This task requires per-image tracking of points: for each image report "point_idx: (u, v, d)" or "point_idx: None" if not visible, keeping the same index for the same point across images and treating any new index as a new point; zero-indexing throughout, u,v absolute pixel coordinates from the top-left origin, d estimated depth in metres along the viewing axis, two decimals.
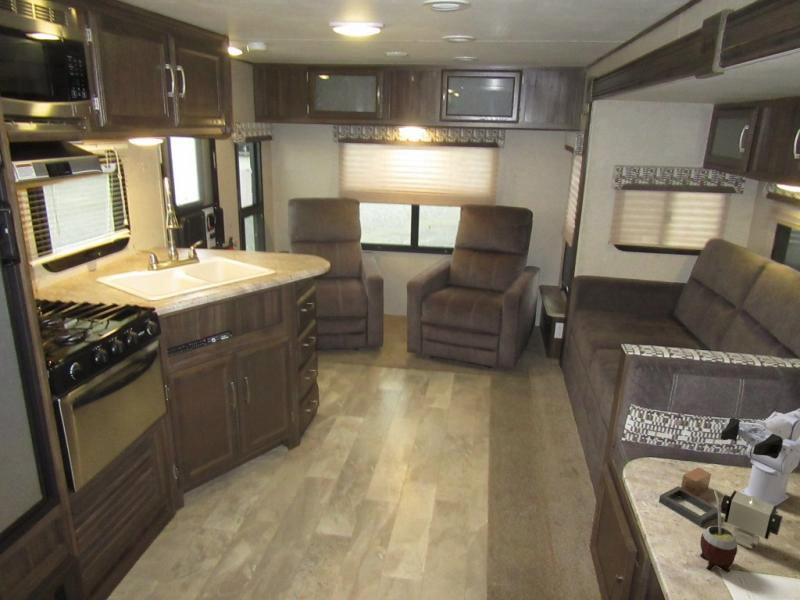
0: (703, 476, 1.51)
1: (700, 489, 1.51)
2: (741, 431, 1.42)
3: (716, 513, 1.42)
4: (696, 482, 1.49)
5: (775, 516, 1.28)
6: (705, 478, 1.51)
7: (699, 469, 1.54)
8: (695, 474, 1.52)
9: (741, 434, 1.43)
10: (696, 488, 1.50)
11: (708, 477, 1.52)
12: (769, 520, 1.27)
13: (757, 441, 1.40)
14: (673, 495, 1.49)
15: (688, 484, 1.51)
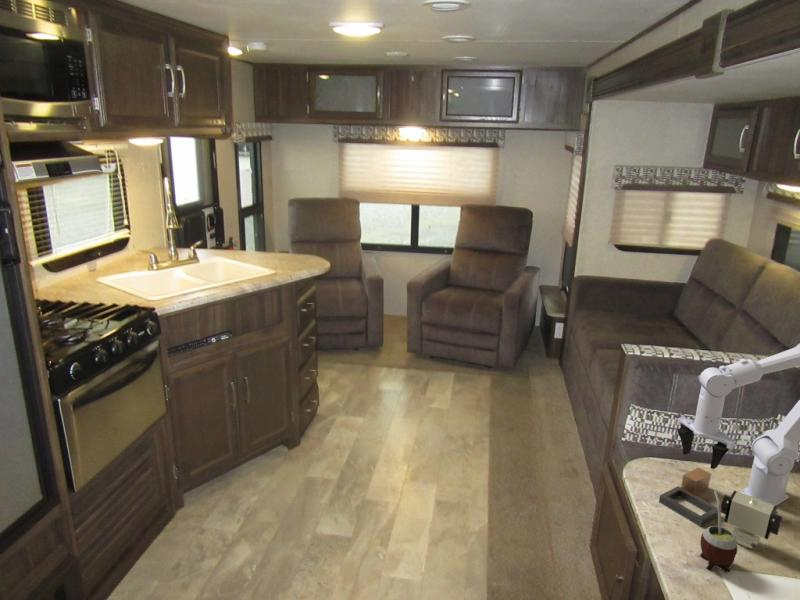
0: (703, 476, 1.51)
1: (700, 489, 1.51)
2: None
3: (716, 513, 1.42)
4: (696, 482, 1.49)
5: (775, 516, 1.28)
6: (705, 478, 1.51)
7: (699, 469, 1.54)
8: (695, 474, 1.52)
9: None
10: (696, 488, 1.50)
11: (708, 477, 1.52)
12: (769, 520, 1.27)
13: None
14: (673, 495, 1.49)
15: (688, 484, 1.51)
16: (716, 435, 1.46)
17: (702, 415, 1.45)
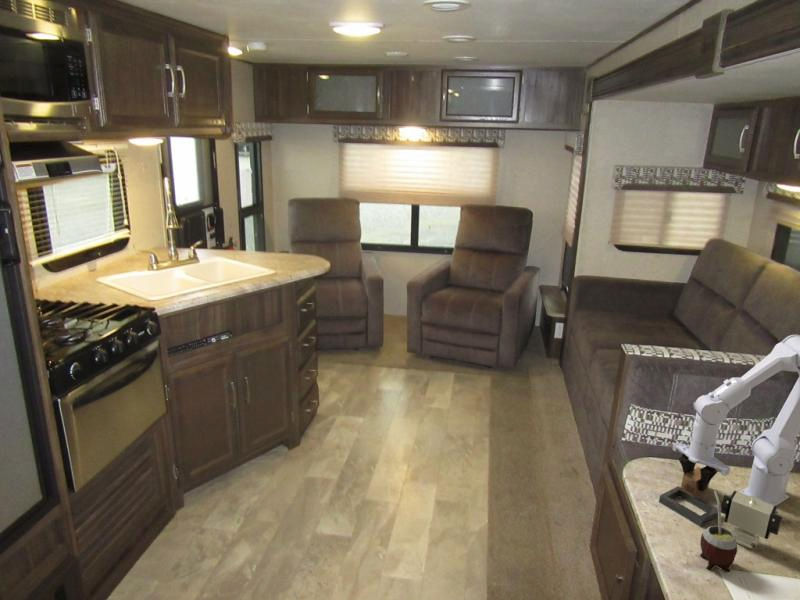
0: None
1: None
2: None
3: (716, 513, 1.42)
4: (696, 482, 1.49)
5: (775, 516, 1.28)
6: None
7: (699, 469, 1.54)
8: (695, 474, 1.52)
9: None
10: (696, 488, 1.50)
11: None
12: (769, 520, 1.27)
13: None
14: (673, 495, 1.49)
15: (688, 484, 1.51)
16: (711, 461, 1.48)
17: (697, 442, 1.48)
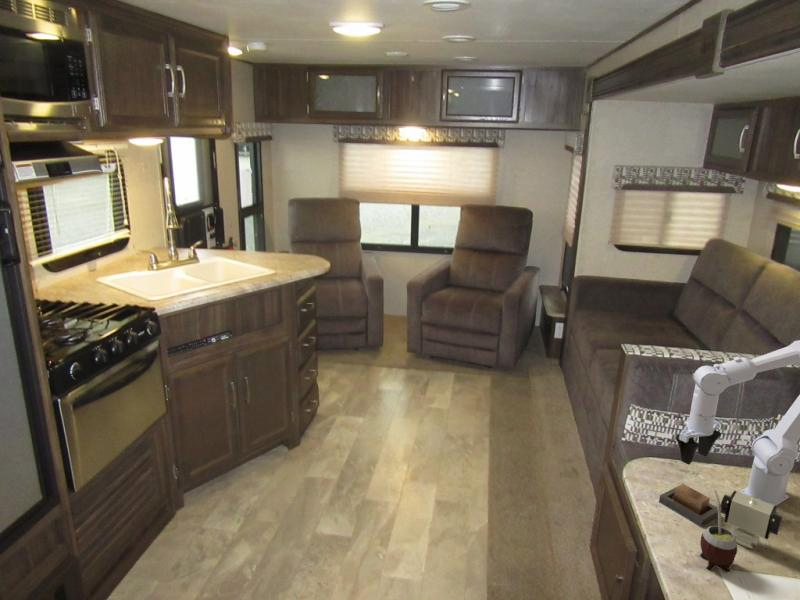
0: (691, 496, 1.43)
1: (685, 506, 1.44)
2: None
3: (716, 513, 1.42)
4: (676, 490, 1.46)
5: (775, 516, 1.28)
6: (691, 499, 1.42)
7: (705, 497, 1.42)
8: (690, 491, 1.45)
9: None
10: (677, 498, 1.46)
11: (696, 502, 1.41)
12: (769, 520, 1.27)
13: None
14: (673, 495, 1.49)
15: None
16: (691, 430, 1.47)
17: (696, 413, 1.46)
